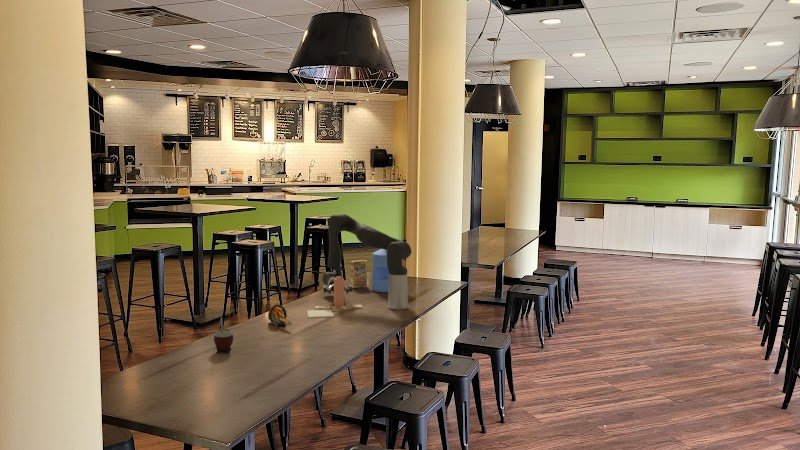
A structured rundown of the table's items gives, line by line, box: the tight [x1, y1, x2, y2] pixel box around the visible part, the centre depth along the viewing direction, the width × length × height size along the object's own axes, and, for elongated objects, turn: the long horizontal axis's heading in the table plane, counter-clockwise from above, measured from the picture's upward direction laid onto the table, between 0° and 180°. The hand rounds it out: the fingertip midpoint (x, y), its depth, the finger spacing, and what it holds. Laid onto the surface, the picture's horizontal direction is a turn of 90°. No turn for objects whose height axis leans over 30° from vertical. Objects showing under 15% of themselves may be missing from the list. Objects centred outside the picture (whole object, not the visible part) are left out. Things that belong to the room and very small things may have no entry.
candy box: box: [349, 259, 368, 289], centre depth 360 cm, size 9×4×15 cm, turn 118°
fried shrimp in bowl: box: [267, 303, 293, 327], centre depth 278 cm, size 9×11×18 cm
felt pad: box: [306, 309, 335, 319], centre depth 298 cm, size 12×12×1 cm
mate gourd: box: [213, 316, 234, 354], centre depth 239 cm, size 8×8×15 cm
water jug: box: [371, 249, 389, 294], centre depth 353 cm, size 16×16×28 cm
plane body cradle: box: [314, 301, 364, 312], centre depth 310 cm, size 23×9×2 cm, turn 102°
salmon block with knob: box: [333, 276, 345, 306], centre depth 309 cm, size 4×4×16 cm
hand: (338, 291), depth 309 cm, fingers open, 8 cm apart
